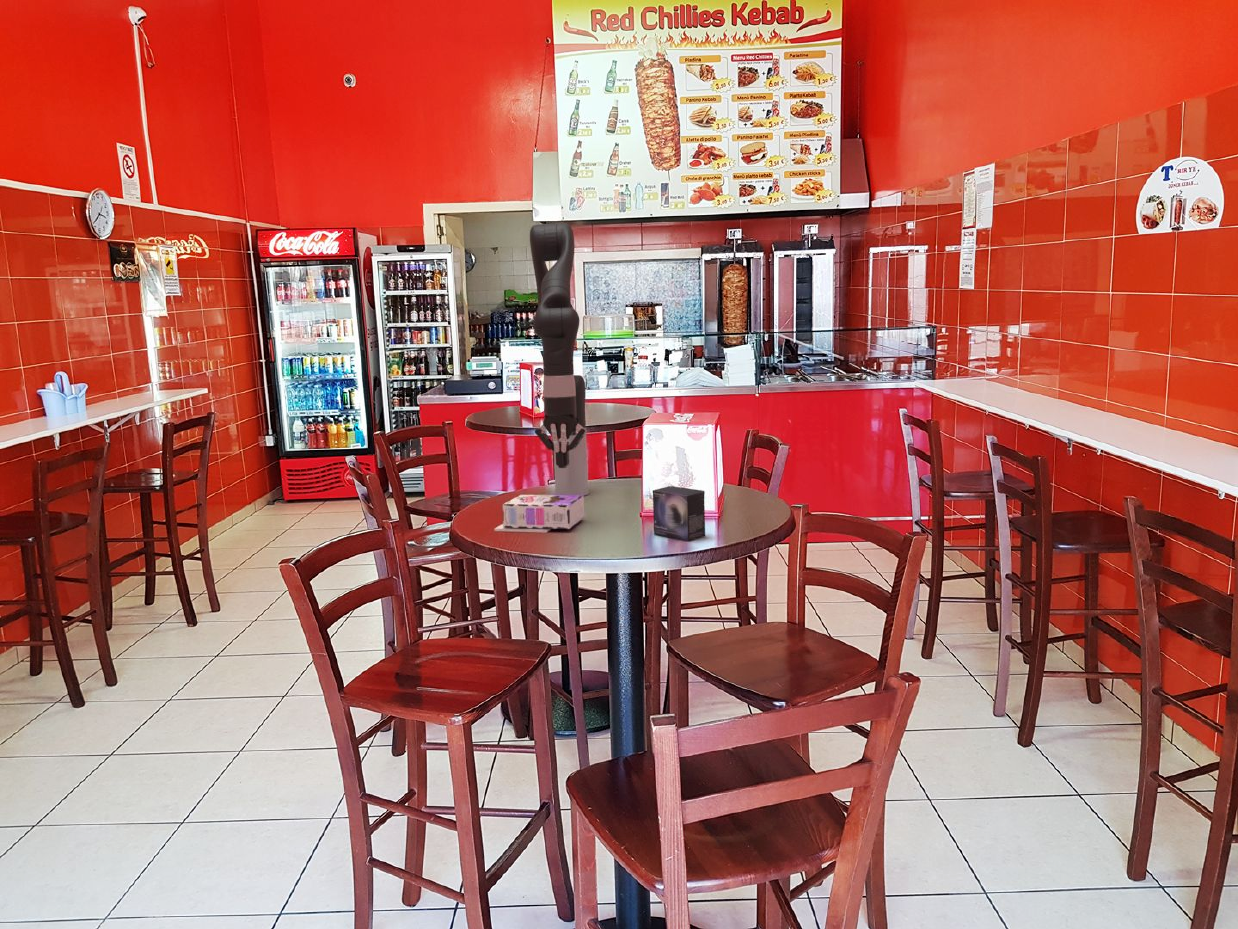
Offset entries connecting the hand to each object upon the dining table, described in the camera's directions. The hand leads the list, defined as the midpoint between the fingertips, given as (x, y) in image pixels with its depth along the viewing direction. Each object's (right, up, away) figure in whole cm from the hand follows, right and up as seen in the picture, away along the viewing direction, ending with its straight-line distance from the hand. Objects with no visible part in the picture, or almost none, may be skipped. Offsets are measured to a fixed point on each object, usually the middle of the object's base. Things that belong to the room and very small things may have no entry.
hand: (562, 467), depth 227 cm
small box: (+27, -15, -12) cm, 33 cm away
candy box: (+4, -10, 0) cm, 11 cm away
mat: (-7, -14, +4) cm, 16 cm away
